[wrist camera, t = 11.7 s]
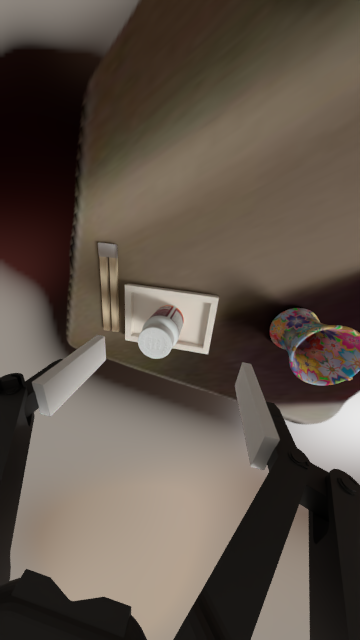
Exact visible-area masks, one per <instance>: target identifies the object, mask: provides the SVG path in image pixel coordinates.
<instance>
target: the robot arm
mask: <svg viewBox="0 0 360 640" xmlns="http://www.w3.org/2000/svg"><path fill="white" fill-rule="evenodd" d="M105 360H106V352H105V336H100V335H97V336H95V337H94V338H92V339H91V340H90V341H88V342H87V343H85V344H84V345H83V346H81V347H80V348H79V349H77V350H76V351H74V352H73V353H72V354H70V355H69V356H68V357H66V358H65V359H60V360H57V361H55V362H53V363H51V364H50V365H48V366H47V367H46V368H44V369H43V370H42V371H40V372H38V373H37V374H36V375H34V376H33V377H31V378H30V379H28V380H27V381H25V380H24V377H23V375H22V374H20V373H13V374H8V375H5V376H3V377H1V378H0V640H147V639H146V637H145V635H144V633H143V630H142V628H141V627H140V625H139V624H138V622H137V621H136V620H135V619H134V617H133V616H132V615H131V606H128V605H125V604H123V603H120V602H117V601H114V600H111V599H109V598H106V597H100V598H93V599H86V600H80V601H70V600H69V599H68V598H67V597H66V596H65V594H64V593H63V592H62V591H61V589H60V588H59V587H58V586H57V585H56V584H55V582H54V581H53V580H52V579H51V578H50V577H47V576H45V575H42V574H39V573H36V572H34V571H31V570H28V569H26V570H25V571H24V573H23V575H22V577H21V578H18V579H15V580H12V581H9V580H10V568H11V566H10V549H11V544H12V538H13V533H14V526H15V521H16V516H17V510H18V505H19V499H20V494H21V488H22V483H23V477H24V471H25V466H26V460H27V455H28V449H29V444H30V438H31V432H32V427H33V422H34V411H35V410H37V409H38V408H39V411H40V414H42V415H46V416H52V415H53V414H54V412H56V411H57V410H58V409H59V408H60V407H61V406H62V404H63V403H64V402H65V401H66V400H67V399H68V398H69V397H70V396H71V395H72V394H73V393H74V392H75V391H76V390H77V389H78V388H79V387H80V386H81V385H82V384H83V383H84V382H85V381H86V380H87V379H88V378H89V377H90V376H91V375H92V374H93V373H94V372H95V371H96V370H97V369H98V368H99V367H100V366H101V365H102V363H103V362H104V361H105ZM235 389H236V395H237V400H238V405H239V410H240V415H241V420H242V425H243V430H244V435H245V440H246V446H247V451H248V456H249V461H250V466H251V467H254V468H257V469H262V470H264V469H265V467H266V465H268V469H269V473H268V475H267V477H266V479H265V481H264V482H263V484H262V486H261V487H260V489H259V491H258V493H257V494H256V496H255V498H254V500H253V502H252V503H251V505H250V507H249V509H248V510H247V512H246V514H245V516H244V517H243V519H242V521H241V523H240V525H239V526H238V528H237V530H236V532H235V533H234V535H233V537H232V539H231V540H230V542H229V544H228V545H227V547H226V549H225V551H224V553H223V554H222V556H221V558H220V560H219V561H218V563H217V565H216V566H215V568H214V570H213V572H212V574H211V575H210V577H209V579H208V580H207V582H206V584H205V586H204V588H203V589H202V591H201V593H200V594H199V596H198V598H197V599H196V601H195V603H194V605H193V606H192V608H191V610H190V612H189V613H188V615H187V617H186V619H185V620H184V622H183V624H182V626H181V627H180V629H179V631H178V633H177V634H176V636H175V638H174V640H251V637H252V634H253V631H254V628H255V625H256V623H257V620H258V617H259V614H260V611H261V609H262V606H263V603H264V600H265V597H266V595H267V592H268V589H269V586H270V584H271V581H272V578H273V575H274V573H275V570H276V567H277V564H278V561H279V558H280V556H281V553H282V550H283V547H284V544H285V542H286V539H287V536H288V534H289V531H290V528H291V525H292V522H293V520H294V517H295V514H296V511H297V508H298V506H299V504H301V505H302V506H304V507H305V508H307V509H308V510H309V591H310V592H309V593H310V594H309V596H310V640H360V485H359V484H358V483H357V482H356V481H355V480H354V479H353V478H352V477H351V476H350V475H348V474H347V473H345V472H343V471H341V470H339V469H333V470H331V471H330V472H327V471H325V470H323V469H321V468H319V467H317V466H315V465H314V464H312V463H311V462H310V461H309V460H308V458H307V457H306V455H305V454H304V453H303V452H302V451H301V450H299V449H298V448H297V447H296V445H295V443H294V441H293V438H292V436H291V434H290V432H289V430H288V428H287V425H286V424H285V421H284V419H283V416H282V414H281V412H280V410H279V409H278V408H277V406H276V405H275V404H274V403H270V402H265V399H264V397H263V394H262V391H261V389H260V386H259V383H258V381H257V378H256V376H255V373H254V370H253V368H252V365H251V364H248V363H243V362H242V365H241V368H240V371H239V375H238V378H237V381H236V384H235Z"/></svg>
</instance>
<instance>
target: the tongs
mask: <svg viewBox="0 0 360 640" xmlns="http://www.w3.org/2000/svg"><path fill="white" fill-rule="evenodd" d="M98 252H99V258H100V275H101V292H102V308H103V325H104V330H108V331H109V330H110V329H111V316H110V293H109V269H108V257H109V266H110V291H111V315H112V331H113V332H118V331H119V296H118V254H117V245H115V244H107V243H98Z"/></svg>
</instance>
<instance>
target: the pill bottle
mask: <svg viewBox="0 0 360 640" xmlns="http://www.w3.org/2000/svg"><path fill="white" fill-rule="evenodd" d="M183 323H184V317H183V314H182V312H181V311H180V310H179V309H178V308H177V307H175V306H172V305H164V306H162V307H160V308H159V309H158V310H157V311H156V312H155V313H154V314H153V315H152V316H151V317H150V318H149V319H148V320H147V321H146V322H145V324H144V326H143V328H142V332H141V333H140V335H139V337H138V345H139V348H140V350H141V351H142V352H143V353H144V354H145V355H146V356H148V357H150V358H154V359H159V358H163V357H165V356H167V355H168V354H169V352H170V351H171V349H172V347H174V346H175V344H176V343H177V341H178V338H179V335H180V332H181V329H182V327H183Z"/></svg>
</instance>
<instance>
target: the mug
mask: <svg viewBox="0 0 360 640" xmlns="http://www.w3.org/2000/svg"><path fill="white" fill-rule="evenodd" d="M270 337H271V340H272V341H273V342H274V344H276V345H277V346H278V347H280V348H283V349H286V350H287V351H288V353H289V363H290V367H291V370H292V371H293V373H294V374H295V375H296V376H297V377H298V378H299V379H301V380H303V381H305V382H307V383H310V384H314V385H332V384H336V383H340V382H343V381H345V380H352V379H353V377H352V376H354V375H355V374H356V373H357V372H359V371H360V333H359V332H358V331H356V330H354V329H352V328H349V327H346V326H340V325H324V324H322V323H320V322H319V319H318V317H317V316H316V315H315V314H314V313H313V312H311V311H310V310H307V309H303V308H292V309H288V310H286V311H284V312H282V313H280V314H279V315H278V316H277V317H276V318H275V319H274V320H273V322H272V323H271V326H270Z"/></svg>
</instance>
